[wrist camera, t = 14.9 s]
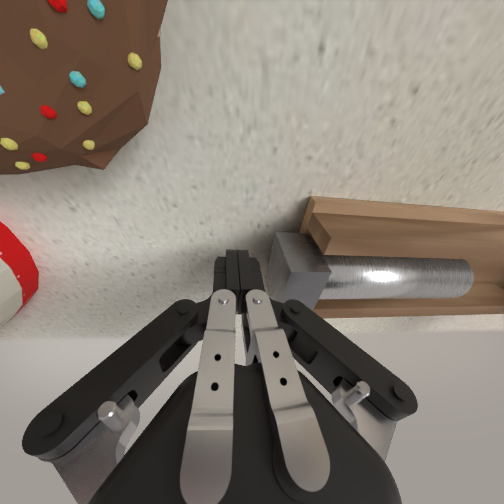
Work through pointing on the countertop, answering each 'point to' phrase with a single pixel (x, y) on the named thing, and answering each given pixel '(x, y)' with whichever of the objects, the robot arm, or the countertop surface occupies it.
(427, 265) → the shaft
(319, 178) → the countertop surface
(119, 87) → the donut
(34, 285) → the kitchen timer
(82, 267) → the countertop surface
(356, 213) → the tray
